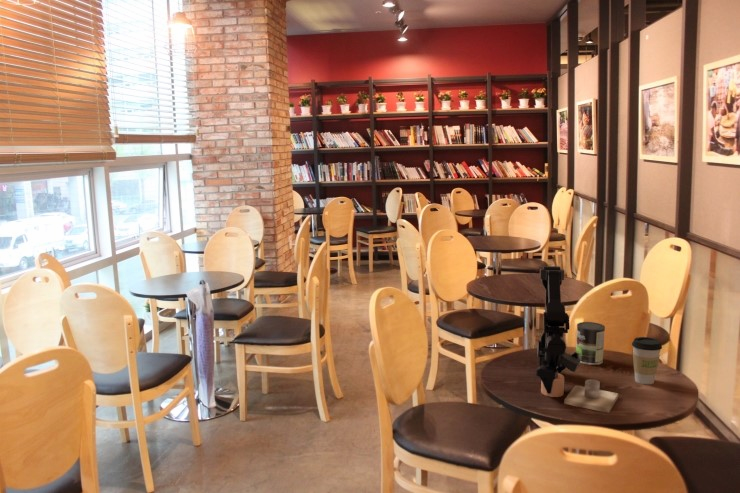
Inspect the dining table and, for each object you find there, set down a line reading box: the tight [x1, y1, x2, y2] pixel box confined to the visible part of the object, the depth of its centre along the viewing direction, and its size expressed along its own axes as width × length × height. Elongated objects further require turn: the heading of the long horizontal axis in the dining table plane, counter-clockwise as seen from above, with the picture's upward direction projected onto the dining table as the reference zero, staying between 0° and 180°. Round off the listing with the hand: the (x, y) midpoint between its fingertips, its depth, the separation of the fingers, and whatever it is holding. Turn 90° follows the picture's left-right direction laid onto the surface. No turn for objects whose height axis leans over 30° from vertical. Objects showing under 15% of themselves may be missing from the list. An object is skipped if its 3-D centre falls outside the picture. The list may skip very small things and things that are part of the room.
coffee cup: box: [631, 336, 663, 385], centre depth 227 cm, size 10×10×15 cm
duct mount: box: [563, 378, 619, 414], centre depth 212 cm, size 14×14×6 cm
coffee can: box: [575, 321, 606, 366], centre depth 249 cm, size 10×10×14 cm
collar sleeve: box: [540, 373, 565, 398], centre depth 218 cm, size 7×7×6 cm
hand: (552, 389), depth 219 cm, fingers open, 7 cm apart
